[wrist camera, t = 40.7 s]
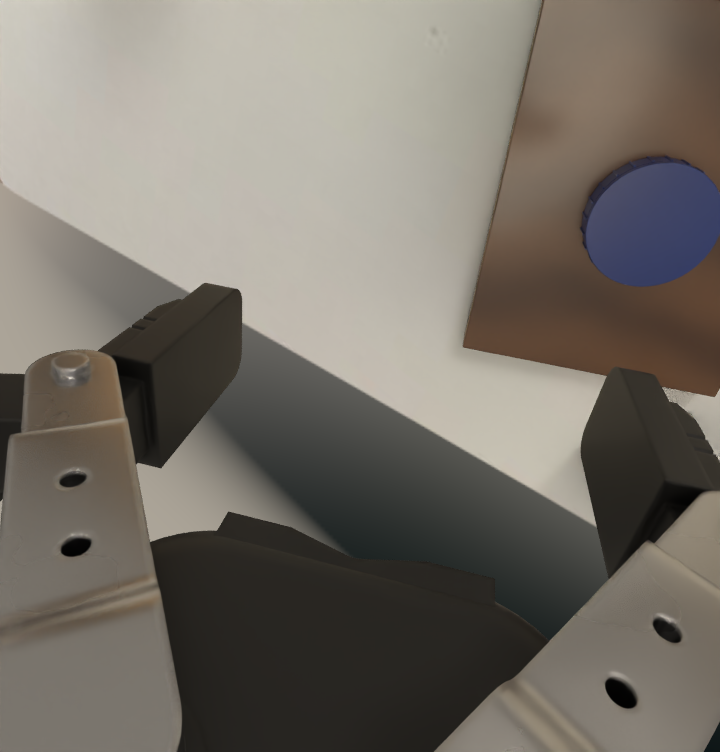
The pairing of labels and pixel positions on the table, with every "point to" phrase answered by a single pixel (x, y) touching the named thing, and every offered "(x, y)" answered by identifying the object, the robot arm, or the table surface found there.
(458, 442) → the table surface
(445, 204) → the table surface
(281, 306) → the table surface
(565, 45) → the board
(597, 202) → the jar lid
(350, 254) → the table surface
